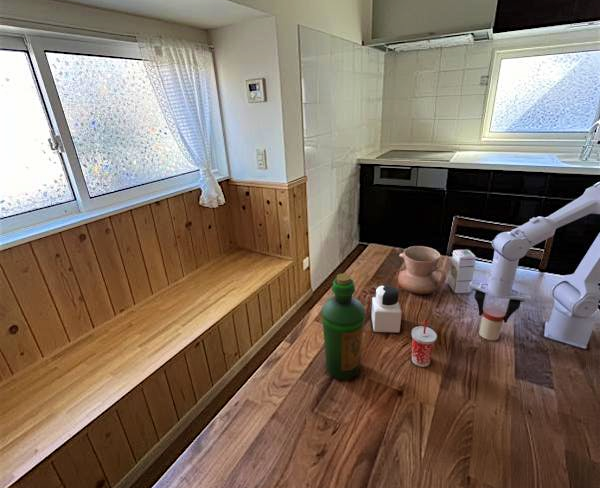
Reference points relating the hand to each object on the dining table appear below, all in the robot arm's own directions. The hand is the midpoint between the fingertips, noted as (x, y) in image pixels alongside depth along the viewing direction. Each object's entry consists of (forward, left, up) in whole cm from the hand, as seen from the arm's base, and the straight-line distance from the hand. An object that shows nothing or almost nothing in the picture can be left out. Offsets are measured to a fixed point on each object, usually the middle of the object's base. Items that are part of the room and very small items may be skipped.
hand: (492, 317), depth 96 cm
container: (+27, +12, -6) cm, 30 cm away
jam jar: (0, 0, -6) cm, 6 cm away
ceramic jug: (+25, -14, -6) cm, 29 cm away
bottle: (+29, +35, -6) cm, 46 cm away
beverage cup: (+13, +21, -6) cm, 26 cm away
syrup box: (+13, -21, -6) cm, 26 cm away
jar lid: (0, 0, +2) cm, 2 cm away
